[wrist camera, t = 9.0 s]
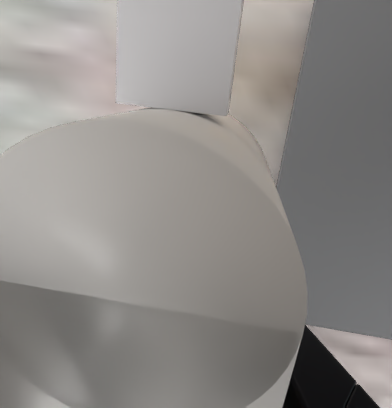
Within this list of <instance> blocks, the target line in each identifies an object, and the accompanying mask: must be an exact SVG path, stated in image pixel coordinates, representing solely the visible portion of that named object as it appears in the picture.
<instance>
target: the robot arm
mask: <svg viewBox="0 0 392 408" xmlns="http://www.w3.org/2000/svg"><path fill="white" fill-rule="evenodd" d="M356 384H357V383H356V381H355V380H354V379H353V378H352V376H351V375H350V374H349V373H348V372H347V371H346V370H345V369H344V367H343V366H342V365H341V364H340V363H339V362H338V361H337V360H336V359H335V357H334V356H333V355H332V354H331V353H330V352H329V351H328V350H327V349H326V347H325V346H324V345H323V344H322V343H321V342H320V341H319V340H318V338H317V337H316V336H315V335H314V334H313V333H312V332H311V331H310V330H309V328H308V327H307V326H306V325H305V327H304V332H303V336H302V340H301V343H300V347H299V350H298V354H297V357H296V361H295V364H294V368H293V372H292V375H291V379H290V382H289V386H288V389H287V393H286V397H285V400H284V404H283V407H282V408H380V407H379V406H378V405H377V404H376V403H375V402H374V401H373V400H372V399H371V397H370V396H369V395H368V394H367V393H366V392H365V391H364V390H363V388H362V387H361V386H360V385H358V384H357V385H356Z"/></svg>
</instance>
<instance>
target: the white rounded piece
mask: <svg viewBox="0 0 392 408" xmlns="http://www.w3.org/2000/svg"><path fill="white" fill-rule="evenodd" d="M243 3H244V0H117V49H116V103H119V104H127V105H135V106H144V107H151V108H145V109H140V110H134V111H129V112H124V113H118V114H113V115H107V116H102V117H97V118H91V119H86V120H80V121H75V122H71V123H67V124H62V125H58V126H54V127H50V128H48V129H45V130H43V131H40V132H38V133H36V134H33V135H31V136H28V137H27V138H25V139H23V140H22V141H20V142H18V143H17V144H15V145H14V146H12V147H10V148H9V149H7V150H6V151H5V152H4V153H3V154H2V155H1V156H0V408H282V407H283V404H284V400H285V397H286V393H287V389H288V386H289V382H290V379H291V375H292V372H293V368H294V364H295V361H296V357H297V354H298V350H299V347H300V343H301V340H302V336H303V332H304V327H305V321H306V316H307V296H308V292H307V284H306V277H305V270H304V266H303V263H302V260H301V256H300V253H299V249H298V246H297V244H296V241H295V238H294V235H293V233H292V230H291V227H290V224H289V222H288V219H287V216H286V213H285V211H284V208H283V205H282V202H281V199H280V197H279V194H278V191H277V188H276V186H275V183H274V180H273V177H272V175H271V172H270V169H269V166H268V164H267V161H266V158H265V156H264V154H263V151H262V149H261V147H260V145H259V144H258V142H257V141H256V139H255V137H254V136H253V135H252V134H251V133H250V131H249V130H248V129H247V128H246V127H245V126H244V125H243V124H242V123H240V122H239V121H238V120H237V119H235V118H234V117H232V116H231V115H229V114H228V113H229V107H230V100H231V92H232V85H233V77H234V70H235V63H236V55H237V48H238V40H239V33H240V26H241V18H242V11H243Z"/></svg>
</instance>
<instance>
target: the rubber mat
mask: <svg viewBox="0 0 392 408" xmlns="http://www.w3.org/2000/svg"><path fill="white" fill-rule="evenodd" d="M276 188H277V191H278V194H279V197H280V199H281V202H282V205H283V208H284V211H285V213H286V216H287V219H288V222H289V224H290V227H291V230H292V233H293V235H294V238H295V241H296V244H297V246H298V249H299V253H300V256H301V260H302V263H303V266H304V270H305V277H306V284H307V292H308V296H307V316H306V321H305V324H306V325H312V326H317V327H323V328H329V329H334V330H340V331H346V332H352V333H357V334H363V335H369V336H375V337H380V338H386V339H392V0H314V4H313V9H312V14H311V19H310V24H309V29H308V33H307V38H306V43H305V48H304V53H303V58H302V63H301V68H300V73H299V78H298V83H297V88H296V93H295V98H294V102H293V107H292V112H291V117H290V122H289V127H288V132H287V137H286V142H285V147H284V152H283V157H282V162H281V166H280V171H279V176H278V181H277V186H276Z"/></svg>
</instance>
